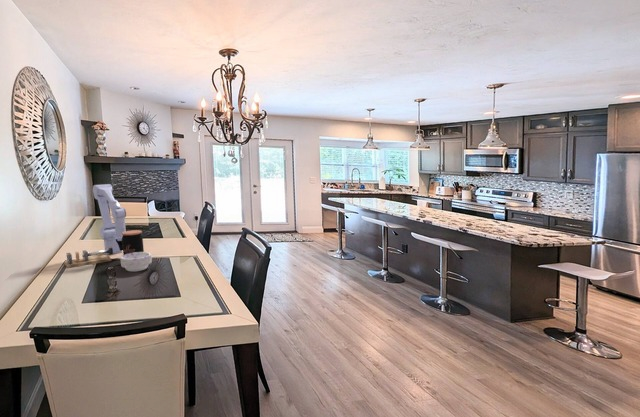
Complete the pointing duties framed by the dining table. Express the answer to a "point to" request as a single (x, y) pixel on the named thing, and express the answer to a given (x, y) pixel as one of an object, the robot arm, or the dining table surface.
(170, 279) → the dining table surface
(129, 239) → the coffee jar
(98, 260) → the base board
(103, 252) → the shaft
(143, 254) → the paper bowls
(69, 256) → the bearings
